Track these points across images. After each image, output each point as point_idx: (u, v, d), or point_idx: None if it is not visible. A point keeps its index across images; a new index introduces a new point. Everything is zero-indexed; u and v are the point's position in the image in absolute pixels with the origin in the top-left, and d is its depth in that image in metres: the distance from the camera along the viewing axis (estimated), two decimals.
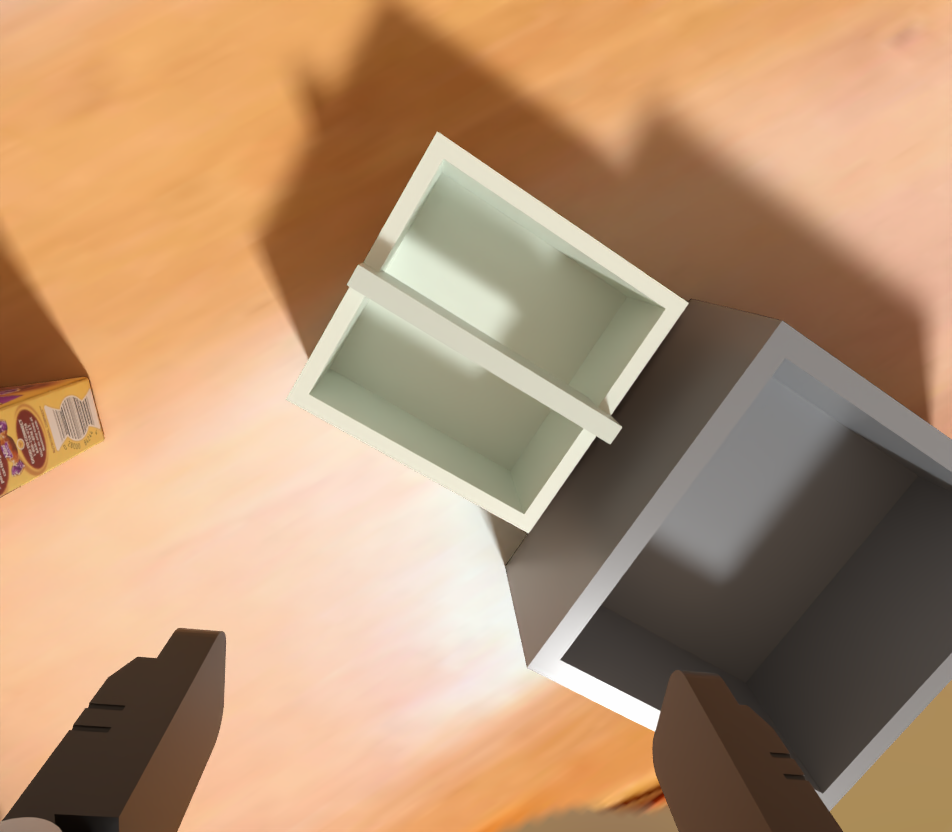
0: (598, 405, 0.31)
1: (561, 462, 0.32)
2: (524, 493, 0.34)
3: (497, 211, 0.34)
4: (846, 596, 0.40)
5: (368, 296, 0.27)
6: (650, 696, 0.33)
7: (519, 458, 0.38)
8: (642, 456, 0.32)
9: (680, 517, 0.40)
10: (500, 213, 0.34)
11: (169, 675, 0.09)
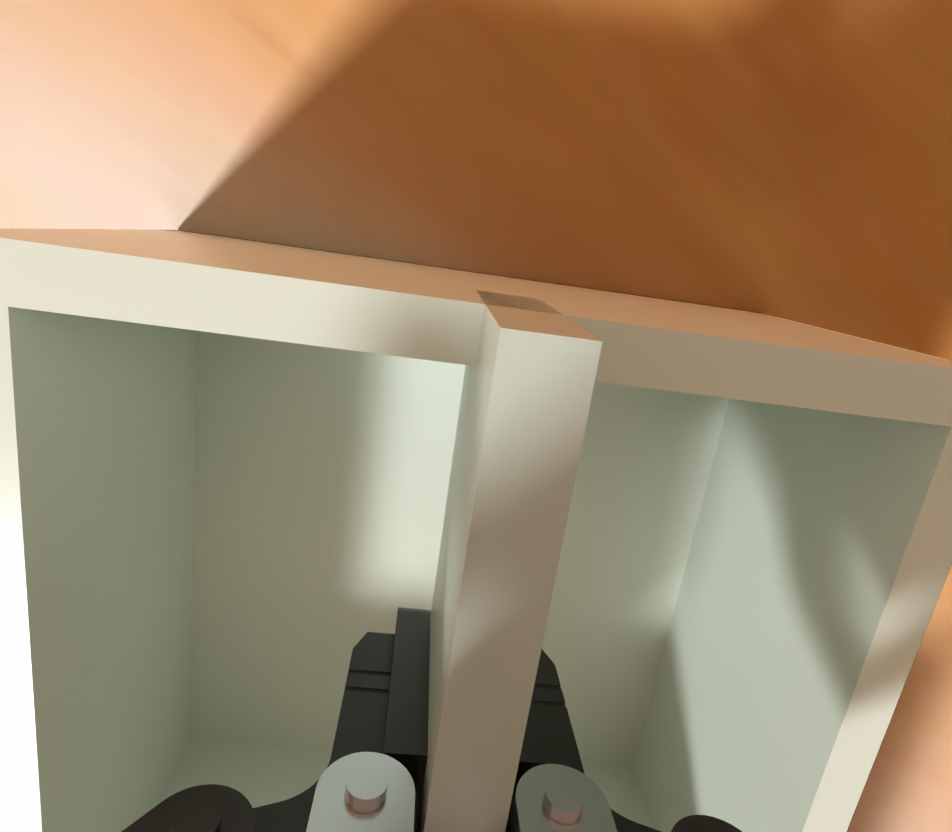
0: None
1: None
2: None
3: (703, 487, 0.16)
4: None
5: (490, 429, 0.06)
6: None
7: (228, 745, 0.17)
8: None
9: None
10: (702, 495, 0.16)
11: (413, 646, 0.10)
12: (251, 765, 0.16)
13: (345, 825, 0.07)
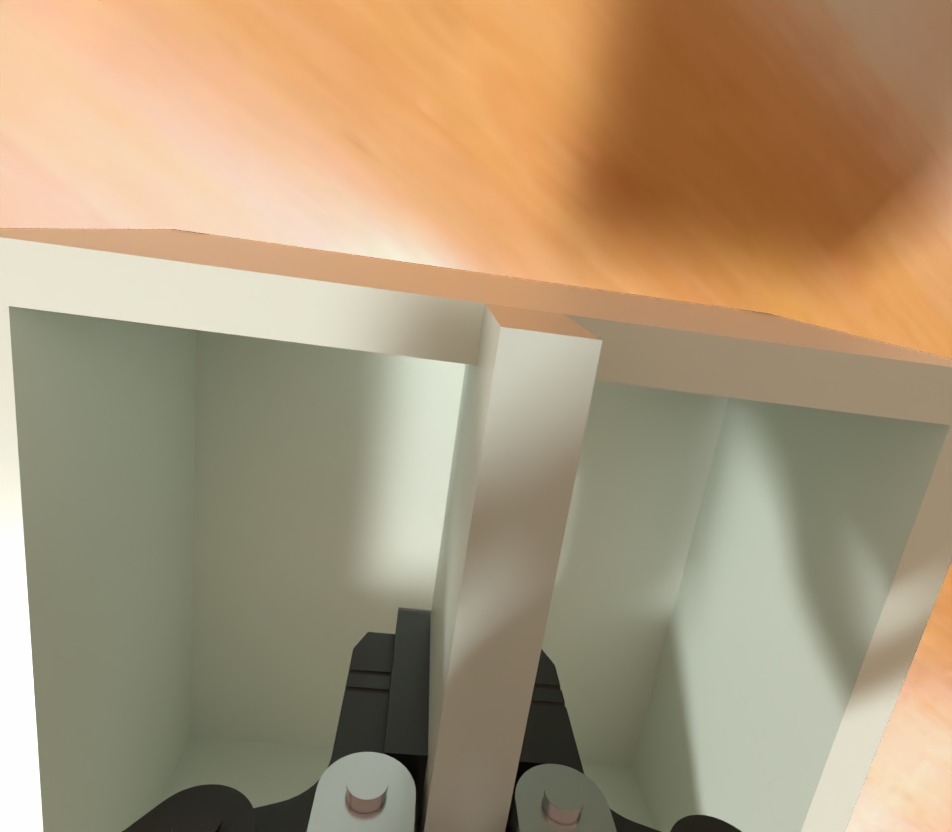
0: None
1: None
2: None
3: (702, 486, 0.16)
4: None
5: (491, 428, 0.06)
6: None
7: (227, 743, 0.17)
8: None
9: None
10: (701, 494, 0.16)
11: (413, 646, 0.10)
12: (251, 764, 0.16)
13: (346, 825, 0.07)
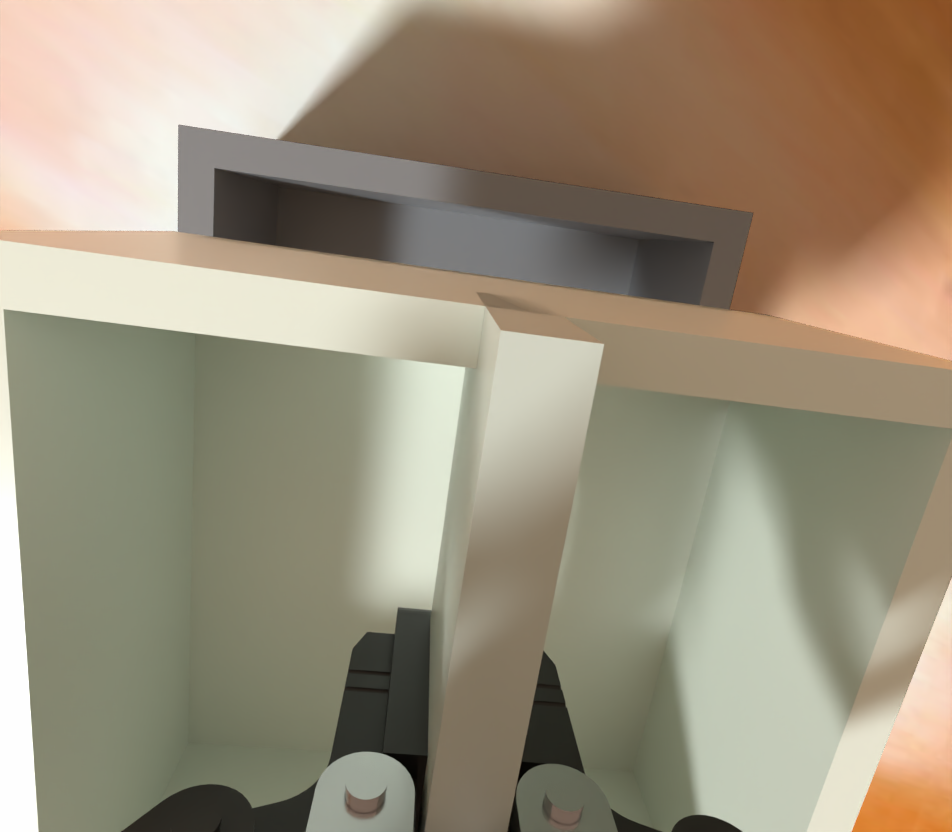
0: None
1: None
2: None
3: (704, 489, 0.16)
4: None
5: (491, 433, 0.06)
6: None
7: (226, 748, 0.17)
8: None
9: None
10: (703, 497, 0.16)
11: (413, 645, 0.10)
12: (250, 769, 0.16)
13: (345, 825, 0.07)
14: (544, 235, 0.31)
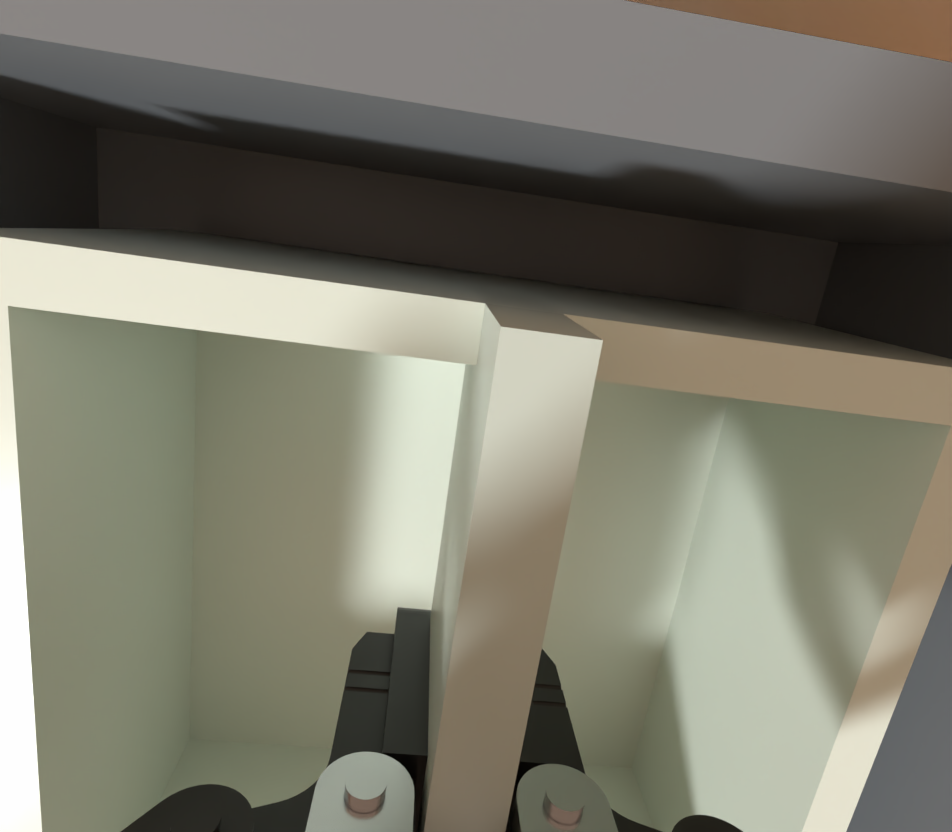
0: None
1: None
2: None
3: (703, 487, 0.16)
4: None
5: (491, 428, 0.06)
6: None
7: (227, 744, 0.17)
8: None
9: None
10: (701, 494, 0.16)
11: (412, 645, 0.10)
12: (251, 765, 0.16)
13: (344, 825, 0.07)
14: (651, 234, 0.15)
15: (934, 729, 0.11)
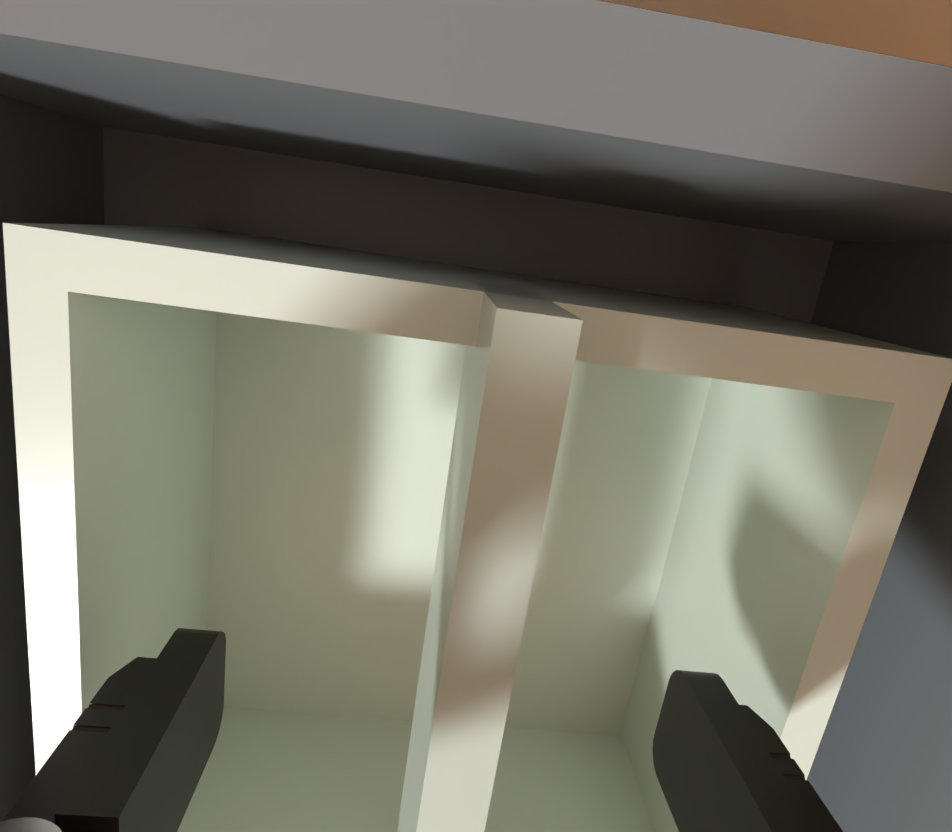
0: None
1: None
2: None
3: (686, 469, 0.17)
4: None
5: (488, 395, 0.07)
6: None
7: (240, 710, 0.18)
8: None
9: None
10: (685, 476, 0.17)
11: (169, 675, 0.09)
12: (263, 729, 0.17)
13: None
14: (649, 232, 0.16)
15: (926, 718, 0.12)
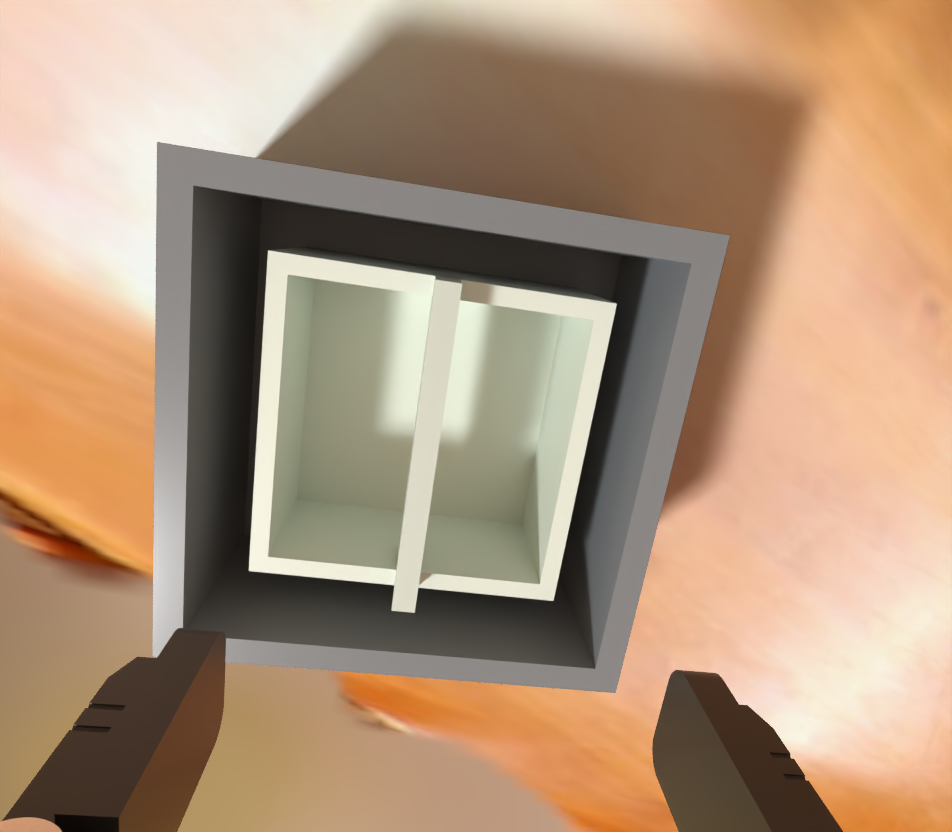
0: None
1: (343, 566, 0.28)
2: (287, 538, 0.29)
3: (549, 372, 0.33)
4: None
5: (433, 307, 0.23)
6: (198, 355, 0.24)
7: (316, 502, 0.34)
8: None
9: None
10: (548, 375, 0.33)
11: (169, 675, 0.09)
12: (329, 509, 0.33)
13: None
14: (527, 250, 0.31)
15: (626, 459, 0.27)
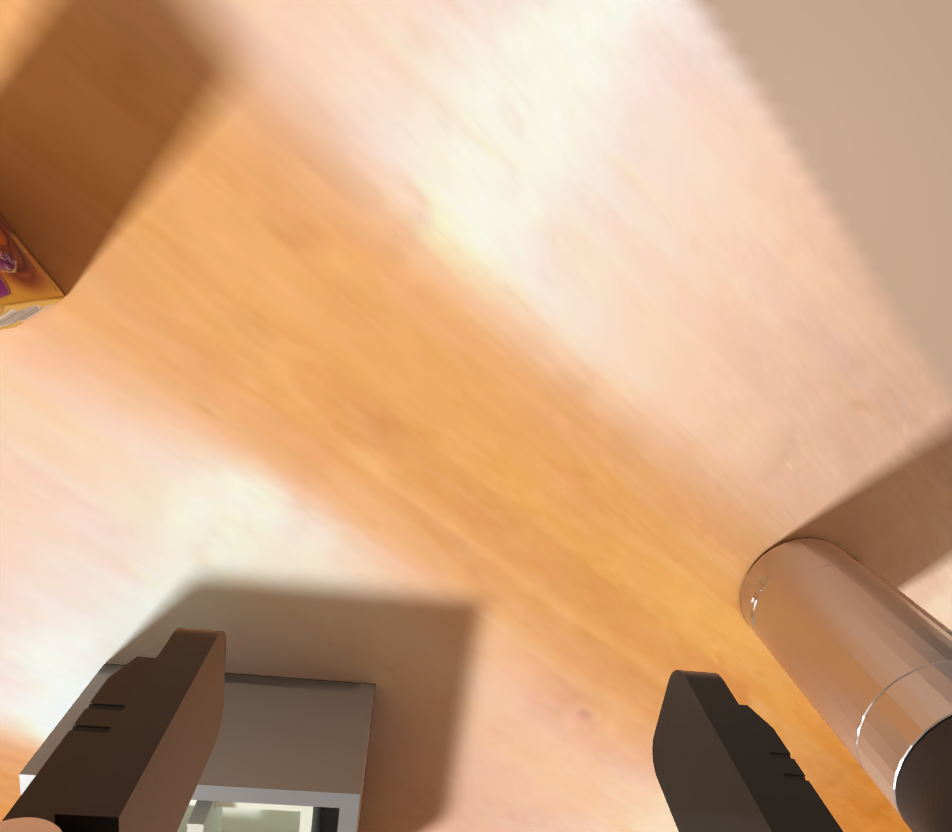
0: None
1: None
2: None
3: None
4: None
5: None
6: None
7: None
8: (235, 744, 0.42)
9: None
10: None
11: (169, 675, 0.09)
12: None
13: None
14: None
15: None
